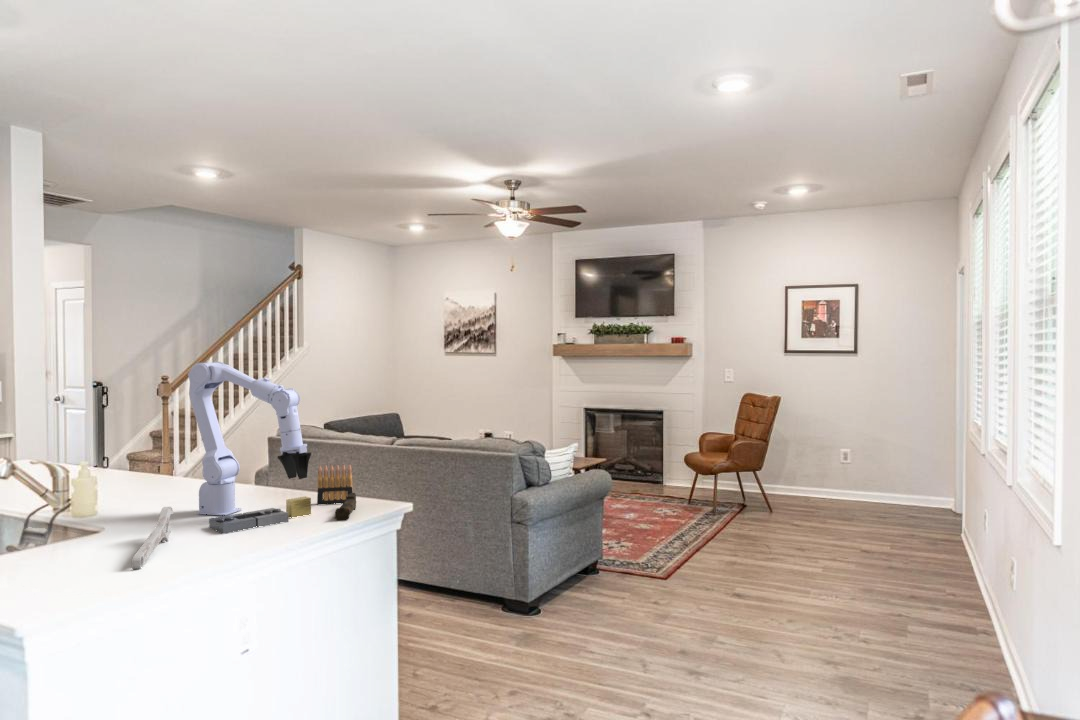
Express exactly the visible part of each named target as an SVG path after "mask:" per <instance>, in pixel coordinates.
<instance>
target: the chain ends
mask: <svg viewBox="0 0 1080 720" xmlns="http://www.w3.org/2000/svg"><path fill="white" fill-rule="evenodd" d="M286 521H288V522H289V518H288V513H287V512H286V511H284V510H281V508H275V507H271V508H265V509H258V510H252V511H248V512H243V513H242V512H241V513H236V514H234V513H233V514H228V515H225V516H222V515H221V516H217V517H211V518H209V519H208V528H209V529H210V528H212V529H211V530H213V529H214V530H213V531H215V530H217V531H216V532H218V531H219V532H218V533H220V532H221V534H222V533H226V534H229V533H228V532H231V533H234V532H233V531H236V532H239V531H238V530H242V531H244V530H243V529H247V530H249V529H248V528H253V527H256V526H257V527H256V528H260V527H259V526H263V527H266V526H265V525H269V526H271V525H270V524H274V525H277V524H276V523H279V524H281V523H280V522H285V523H287V522H286ZM253 529H254V528H253Z"/></svg>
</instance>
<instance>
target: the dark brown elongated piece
mask: <svg viewBox="0 0 1080 720" xmlns="http://www.w3.org/2000/svg"><path fill="white" fill-rule="evenodd" d="M356 508H357V494H356V493H355V492H353V493H350V494H349V495H347V497H346V501H345V502H344V503H343V504H341V505H340V507H339V508H338V507H337V508H336V509H335V511H334V518H335V520H336V521H339V522H340V521H341V522H343V521H344V522H345V521H348V520H349V518H350V515H351V514H352V513H353V511H356Z"/></svg>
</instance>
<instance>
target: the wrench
mask: <svg viewBox="0 0 1080 720" xmlns="http://www.w3.org/2000/svg"><path fill="white" fill-rule="evenodd" d="M171 515H174V509H173V507H172V506H163V507H162V508H161V511H160V514H159V517H158V520H157V523H156V524H155V525H156V526H155V528H154V529H153V531H151V533H150V534H149V536H148V537H147V538H146V540H145V541H144V542H143V543H142V545H141V546H140V547H139V549H138V550H137V552H136V553H135V554H134V555H133V557H132V560H131V568H132V570H142V568H144V567H145V565H146V564H147V562H148V560H150V557H151V556H152V555H153V553H154V552H155V550H156V548H157V547H158V546H159V544H160V543H161V541H162V543H166V542H169V539H170V537H169V536H170V534H171V530H172V526H171V525H170V517H171ZM165 541H166V542H165ZM141 567H142V568H141Z"/></svg>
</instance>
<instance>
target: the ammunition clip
mask: <svg viewBox="0 0 1080 720" xmlns="http://www.w3.org/2000/svg"><path fill="white" fill-rule="evenodd" d="M347 466H348V467H347V469H346V466H345V464H343V465H342V467H341V469H340V465H338V464H336V468H334V466H333V464H330V469H328V466H327V464H325V466H324V469H323V468H322V466H321V465H319V466H318V473H317V498H316V501H317V502H316V505H317V504H326V505H337V504H336V503H344V502H345V501H346V497H347V495H349V494H350V493H354V492H353V491H354V490H353V489H354V486H353V485H354V483H353V472H352V465H351V464H349V463H348V465H347ZM346 470H347V471H346ZM340 471H341V472H340ZM323 473H324V474H323ZM334 503H335V504H334Z"/></svg>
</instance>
